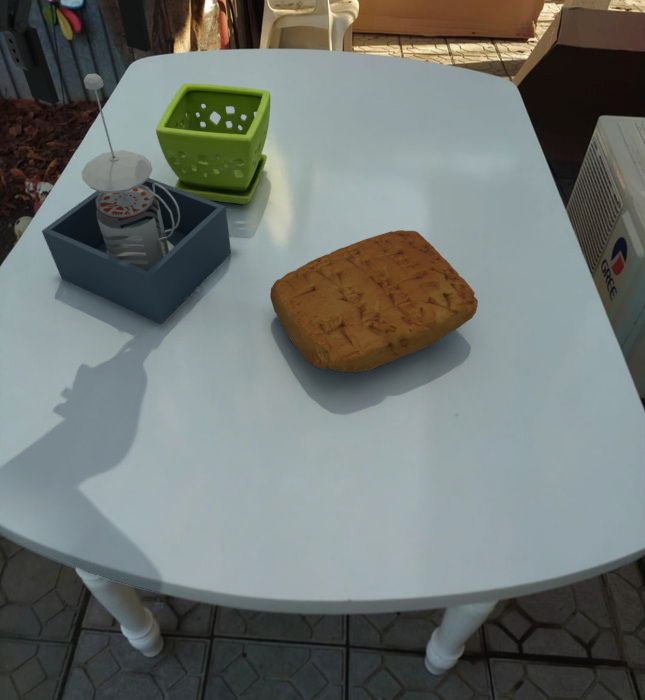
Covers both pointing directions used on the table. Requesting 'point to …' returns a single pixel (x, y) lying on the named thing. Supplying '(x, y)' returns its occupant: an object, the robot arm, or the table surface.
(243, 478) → the table surface
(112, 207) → the french press
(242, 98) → the flower pot
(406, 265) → the inscribed clay slab
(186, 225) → the tub
